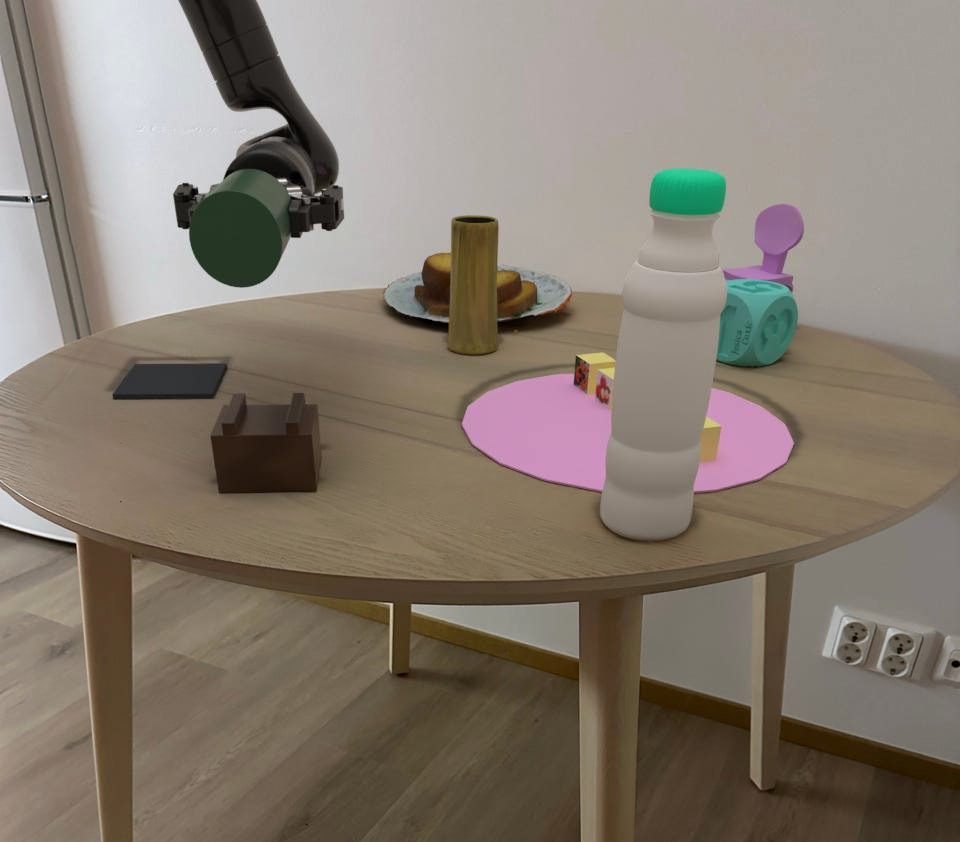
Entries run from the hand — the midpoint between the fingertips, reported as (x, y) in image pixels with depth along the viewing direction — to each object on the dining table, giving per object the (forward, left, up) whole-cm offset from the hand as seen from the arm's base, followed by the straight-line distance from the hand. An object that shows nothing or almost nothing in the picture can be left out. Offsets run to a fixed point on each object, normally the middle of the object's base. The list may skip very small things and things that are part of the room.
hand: (248, 222), depth 70 cm
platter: (+33, +8, -20) cm, 39 cm away
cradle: (0, -3, -20) cm, 20 cm away
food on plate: (+22, +52, -20) cm, 60 cm away
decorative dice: (+52, +30, -20) cm, 63 cm away
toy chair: (+56, +40, -20) cm, 71 cm away
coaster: (-13, +22, -20) cm, 32 cm away
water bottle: (+30, -13, -20) cm, 38 cm away
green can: (0, -1, 0) cm, 1 cm away
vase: (+20, +34, -20) cm, 44 cm away
